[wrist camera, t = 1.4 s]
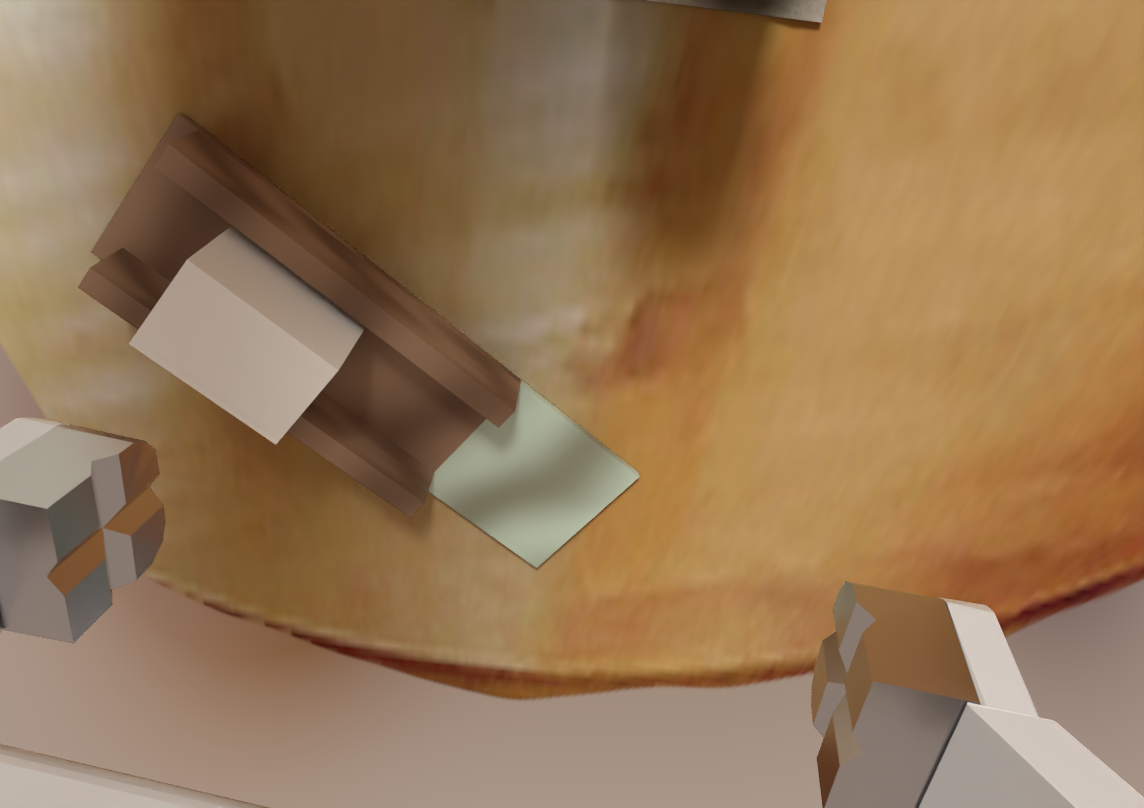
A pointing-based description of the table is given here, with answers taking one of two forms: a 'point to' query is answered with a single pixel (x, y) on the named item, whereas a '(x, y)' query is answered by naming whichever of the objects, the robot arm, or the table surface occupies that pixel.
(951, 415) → the table surface
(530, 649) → the table surface
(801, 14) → the condiment
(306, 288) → the block
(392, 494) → the chute
